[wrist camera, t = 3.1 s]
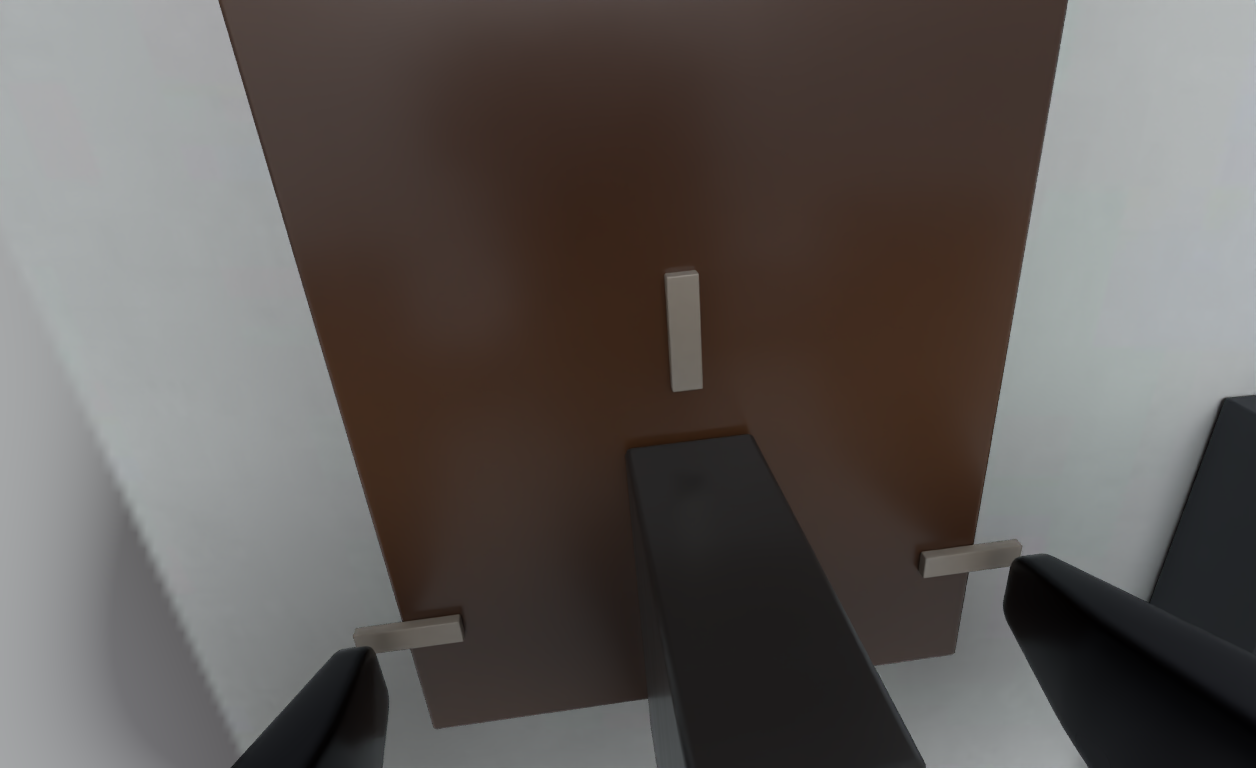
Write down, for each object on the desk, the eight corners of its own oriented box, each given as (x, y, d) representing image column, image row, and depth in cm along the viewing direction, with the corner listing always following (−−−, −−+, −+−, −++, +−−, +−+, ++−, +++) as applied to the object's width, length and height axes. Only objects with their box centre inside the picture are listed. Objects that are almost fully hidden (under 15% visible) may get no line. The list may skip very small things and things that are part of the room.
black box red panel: (753, 711, 11) (885, 1139, 7) (650, 725, 11) (718, 1170, 7) (753, 430, 9) (950, 804, 4) (623, 445, 9) (699, 842, 4)
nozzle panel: (893, 629, 15) (975, 769, 12) (450, 692, 14) (427, 853, 11) (1068, -855, 7) (1468, -1543, 4) (33, -843, 6) (-427, -1637, 3)
